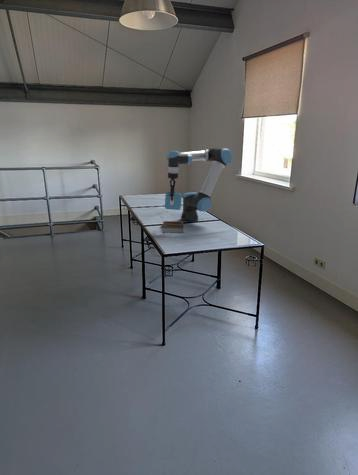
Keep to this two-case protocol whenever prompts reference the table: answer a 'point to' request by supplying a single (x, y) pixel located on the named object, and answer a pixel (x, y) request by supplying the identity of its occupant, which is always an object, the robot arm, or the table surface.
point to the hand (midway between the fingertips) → (172, 204)
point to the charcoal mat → (172, 230)
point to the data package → (176, 201)
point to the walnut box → (172, 224)
